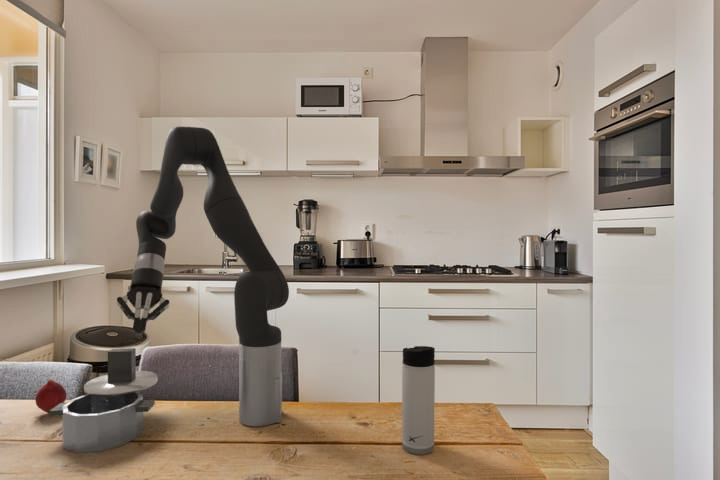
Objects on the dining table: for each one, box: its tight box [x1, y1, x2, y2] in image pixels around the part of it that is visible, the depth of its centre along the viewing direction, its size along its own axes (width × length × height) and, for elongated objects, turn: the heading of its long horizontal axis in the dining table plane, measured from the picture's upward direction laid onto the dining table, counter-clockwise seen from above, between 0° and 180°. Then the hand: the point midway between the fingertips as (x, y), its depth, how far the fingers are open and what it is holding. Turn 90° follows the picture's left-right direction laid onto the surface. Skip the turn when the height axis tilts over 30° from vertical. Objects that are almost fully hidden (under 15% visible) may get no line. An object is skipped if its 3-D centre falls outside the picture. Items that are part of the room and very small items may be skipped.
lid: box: [83, 347, 159, 397], centre depth 100 cm, size 15×15×8 cm
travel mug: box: [401, 345, 436, 456], centre depth 87 cm, size 6×7×20 cm
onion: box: [35, 378, 67, 414], centre depth 102 cm, size 6×6×8 cm
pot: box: [49, 391, 156, 454], centre depth 91 cm, size 19×14×7 cm
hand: (138, 333), depth 111 cm, fingers closed
